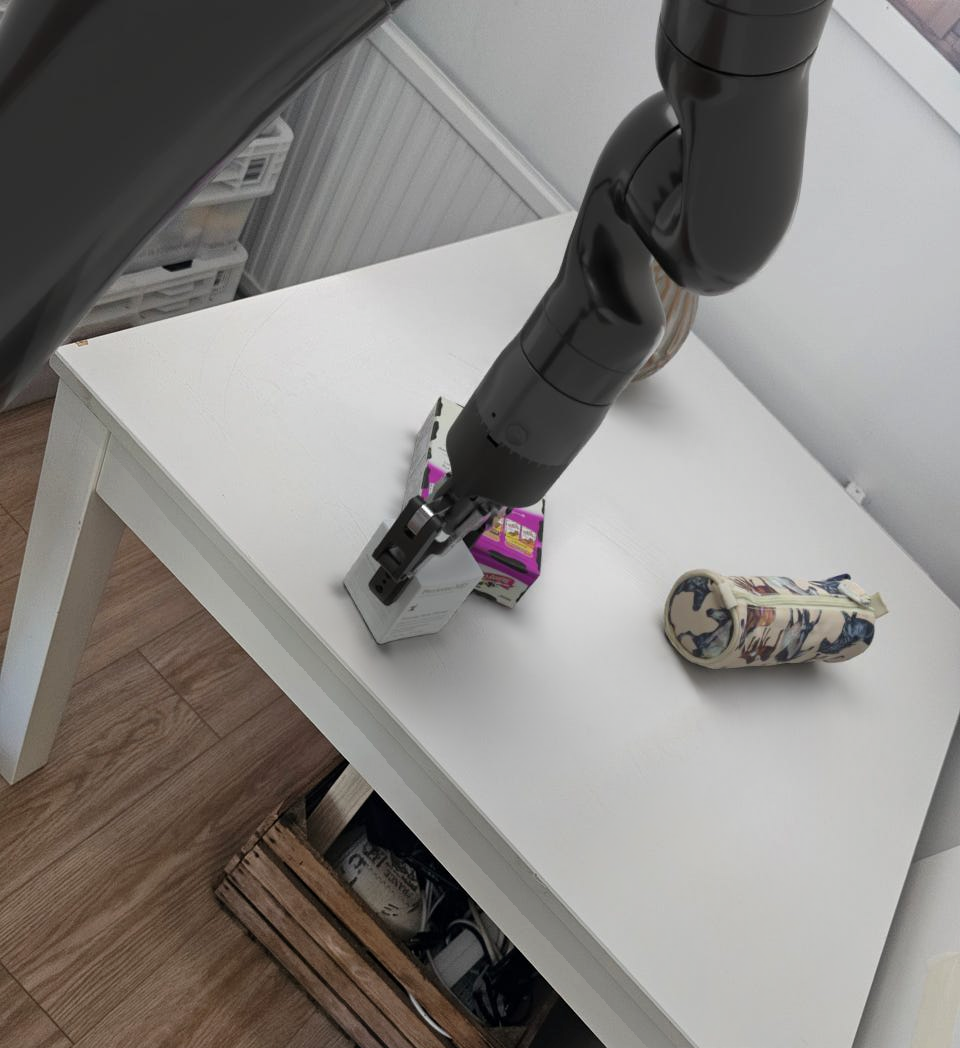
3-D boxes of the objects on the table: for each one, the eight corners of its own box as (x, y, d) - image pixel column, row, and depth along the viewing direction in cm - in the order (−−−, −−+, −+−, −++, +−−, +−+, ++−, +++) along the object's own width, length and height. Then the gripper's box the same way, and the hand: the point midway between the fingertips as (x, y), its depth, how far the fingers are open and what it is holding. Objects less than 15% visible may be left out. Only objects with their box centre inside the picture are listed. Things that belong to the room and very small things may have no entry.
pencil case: (791, 611, 106) (861, 552, 100) (831, 681, 102) (906, 625, 96) (637, 608, 94) (705, 541, 87) (676, 689, 90) (750, 624, 83)
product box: (375, 646, 75) (420, 587, 70) (339, 580, 77) (380, 517, 72) (440, 633, 79) (486, 576, 74) (404, 570, 81) (447, 510, 76)
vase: (527, 349, 110) (622, 212, 98) (562, 305, 120) (652, 175, 108) (625, 423, 111) (730, 296, 100) (652, 374, 121) (750, 253, 109)
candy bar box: (510, 613, 85) (524, 484, 96) (541, 577, 81) (553, 447, 92) (387, 557, 81) (416, 430, 92) (414, 517, 78) (441, 390, 89)
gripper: (546, 351, 70) (436, 506, 81) (422, 402, 60) (316, 572, 71) (623, 428, 69) (502, 574, 80) (512, 494, 59) (390, 651, 70)
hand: (415, 573), depth 75 cm, fingers open, 8 cm apart
